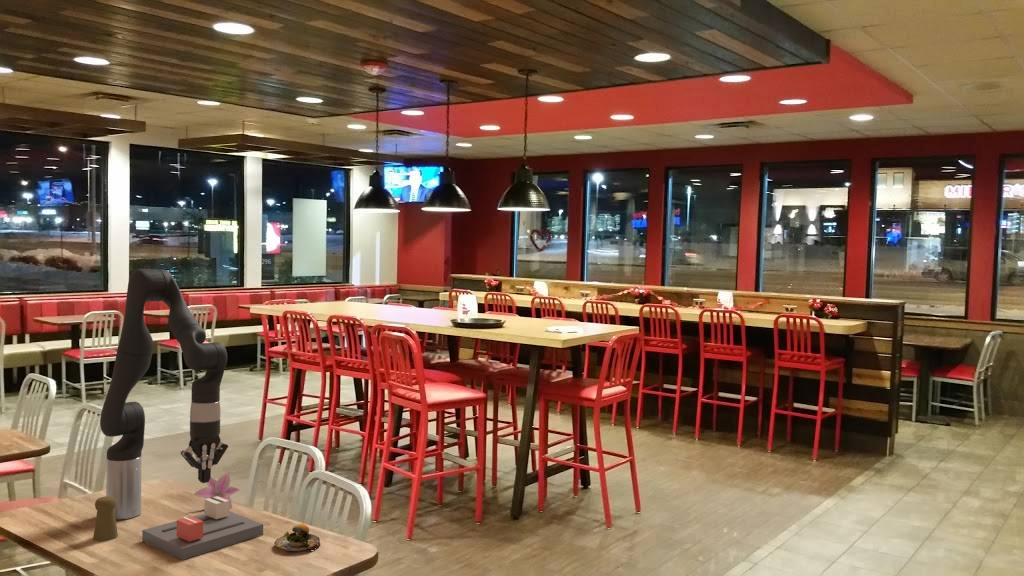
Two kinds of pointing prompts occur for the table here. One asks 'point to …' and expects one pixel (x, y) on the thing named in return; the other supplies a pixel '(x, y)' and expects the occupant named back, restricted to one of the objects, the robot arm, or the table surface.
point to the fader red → (189, 528)
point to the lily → (218, 489)
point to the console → (214, 535)
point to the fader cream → (216, 507)
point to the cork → (105, 519)
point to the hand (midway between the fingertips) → (204, 482)
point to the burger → (298, 539)
